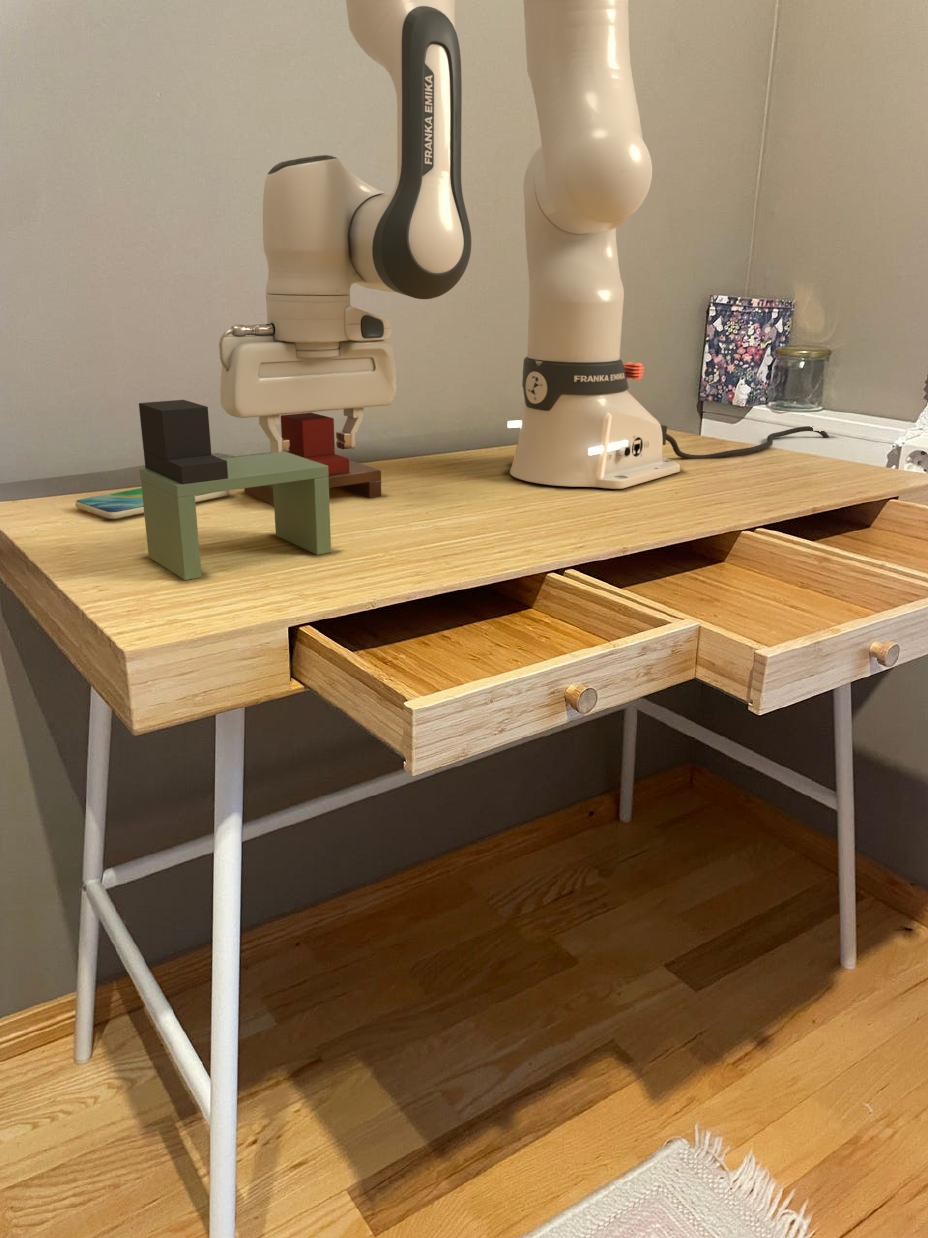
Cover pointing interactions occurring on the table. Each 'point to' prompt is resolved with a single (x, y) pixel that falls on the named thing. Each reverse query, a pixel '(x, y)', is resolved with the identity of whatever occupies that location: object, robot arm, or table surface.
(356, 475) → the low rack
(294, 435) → the red l-shaped step block
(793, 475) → the table surface
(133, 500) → the smartphone
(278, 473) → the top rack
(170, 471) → the dark stepped block
